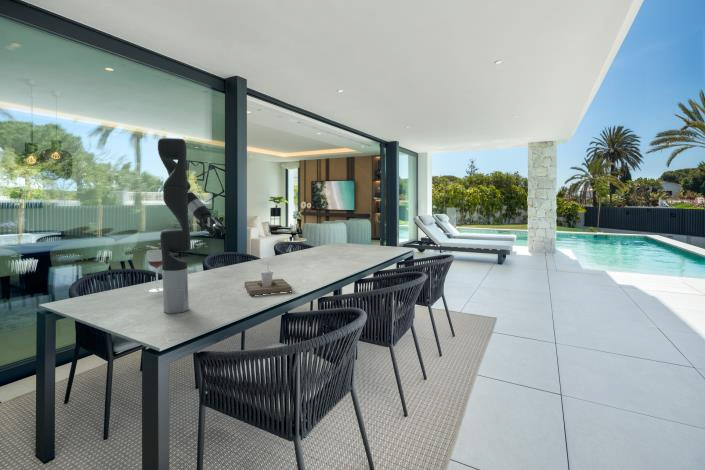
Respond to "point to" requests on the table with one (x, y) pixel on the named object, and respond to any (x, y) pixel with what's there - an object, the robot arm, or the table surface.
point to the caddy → (267, 287)
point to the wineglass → (155, 264)
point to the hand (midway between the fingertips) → (219, 233)
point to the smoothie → (266, 277)
